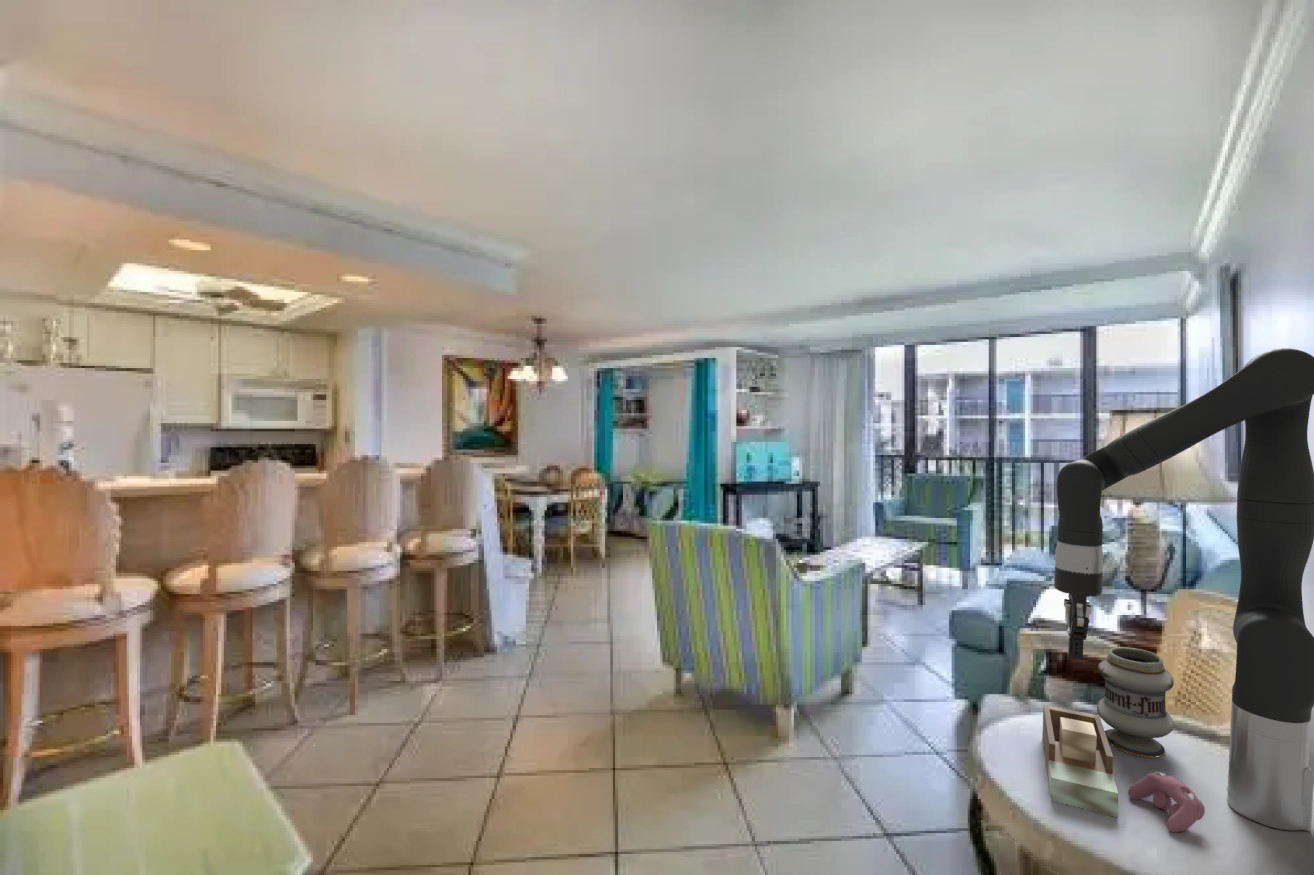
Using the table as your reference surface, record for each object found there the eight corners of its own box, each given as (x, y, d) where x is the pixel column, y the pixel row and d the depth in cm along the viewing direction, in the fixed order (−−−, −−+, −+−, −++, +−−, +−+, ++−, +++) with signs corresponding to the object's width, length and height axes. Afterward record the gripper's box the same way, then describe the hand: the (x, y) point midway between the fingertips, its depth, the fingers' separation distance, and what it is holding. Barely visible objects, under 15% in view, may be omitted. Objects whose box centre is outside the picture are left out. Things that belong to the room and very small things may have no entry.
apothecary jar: (1080, 731, 130) (1083, 644, 129) (1130, 726, 132) (1134, 641, 131) (1135, 764, 118) (1139, 668, 117) (1189, 757, 120) (1193, 664, 119)
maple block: (1091, 750, 115) (1092, 723, 115) (1095, 763, 110) (1096, 735, 110) (1059, 743, 117) (1060, 716, 117) (1061, 756, 113) (1062, 728, 113)
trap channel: (1098, 751, 122) (1099, 715, 122) (1117, 817, 102) (1119, 775, 102) (1042, 739, 126) (1043, 704, 126) (1050, 800, 107) (1051, 760, 106)
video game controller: (1194, 844, 98) (1217, 805, 98) (1168, 831, 98) (1190, 792, 98) (1146, 805, 108) (1166, 769, 108) (1122, 792, 108) (1142, 757, 108)
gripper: (1108, 577, 111) (1104, 674, 112) (1097, 561, 123) (1094, 649, 124) (1057, 572, 115) (1054, 666, 116) (1052, 557, 127) (1049, 642, 127)
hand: (1075, 657), depth 120 cm, fingers closed
